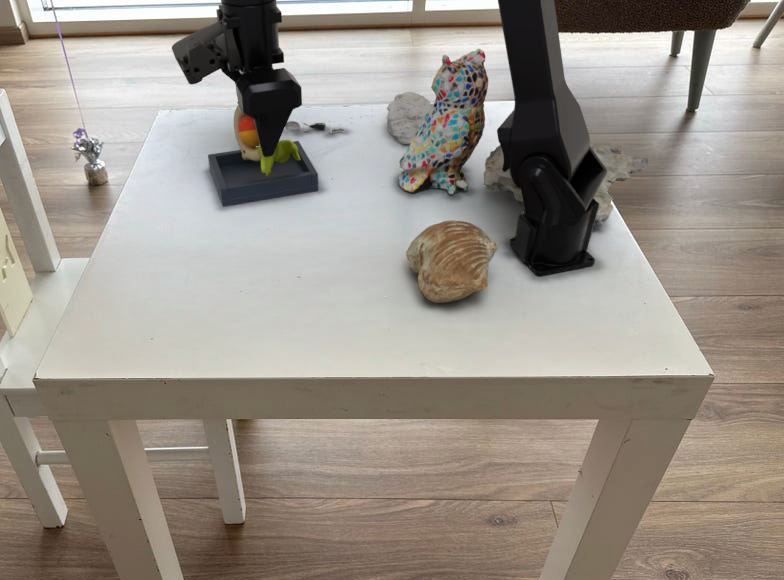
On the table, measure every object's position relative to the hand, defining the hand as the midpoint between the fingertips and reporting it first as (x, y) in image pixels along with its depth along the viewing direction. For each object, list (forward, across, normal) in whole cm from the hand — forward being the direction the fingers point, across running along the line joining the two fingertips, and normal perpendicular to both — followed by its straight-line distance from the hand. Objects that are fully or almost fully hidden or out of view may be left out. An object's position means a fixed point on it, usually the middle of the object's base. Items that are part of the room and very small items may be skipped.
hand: (260, 140), depth 87 cm
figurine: (+5, +7, +20) cm, 22 cm away
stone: (+6, -7, +23) cm, 25 cm away
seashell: (+6, +27, +13) cm, 30 cm away
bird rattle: (+3, 0, 0) cm, 3 cm away
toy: (+5, -10, +9) cm, 14 cm away
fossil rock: (+3, +9, +33) cm, 34 cm away
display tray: (+5, 0, 0) cm, 5 cm away
